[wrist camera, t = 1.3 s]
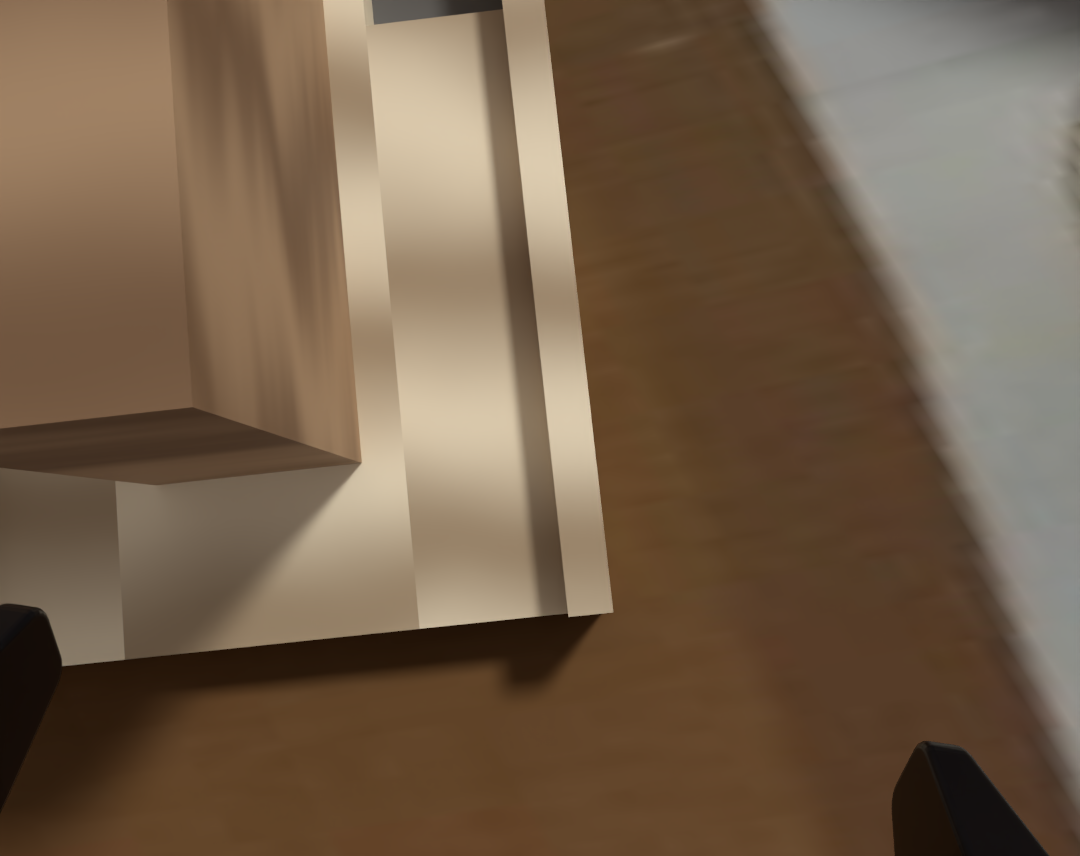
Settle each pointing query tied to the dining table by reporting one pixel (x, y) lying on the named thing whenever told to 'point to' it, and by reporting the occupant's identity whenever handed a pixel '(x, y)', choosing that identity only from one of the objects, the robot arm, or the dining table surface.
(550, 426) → the box
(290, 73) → the block
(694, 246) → the dining table surface
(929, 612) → the dining table surface
